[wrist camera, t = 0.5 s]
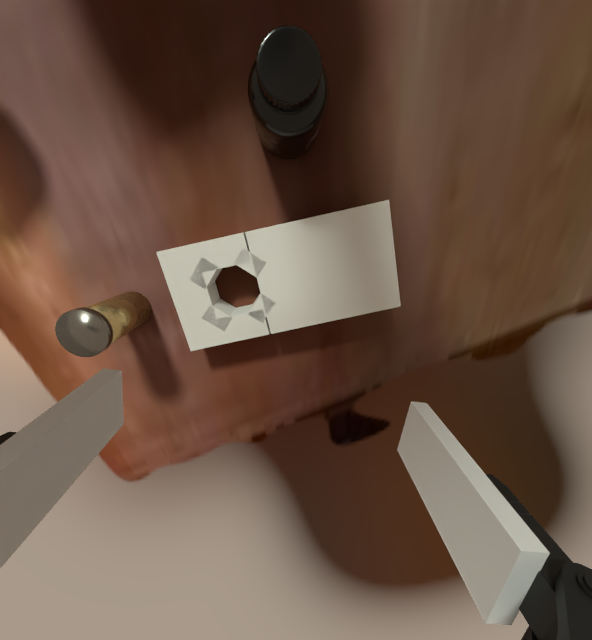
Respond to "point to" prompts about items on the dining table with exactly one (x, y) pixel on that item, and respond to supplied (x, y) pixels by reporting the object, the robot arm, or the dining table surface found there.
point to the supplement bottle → (288, 92)
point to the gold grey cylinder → (101, 323)
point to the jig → (287, 275)
